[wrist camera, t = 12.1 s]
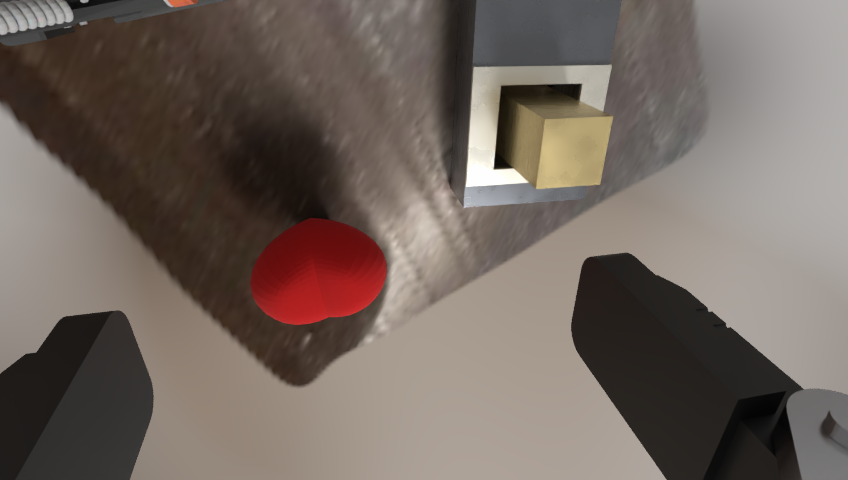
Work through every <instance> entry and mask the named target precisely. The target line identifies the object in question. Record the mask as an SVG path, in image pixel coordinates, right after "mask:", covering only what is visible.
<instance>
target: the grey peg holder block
mask: <svg viewBox="0 0 848 480" xmlns="http://www.w3.org/2000/svg"><path fill="white" fill-rule="evenodd" d="M621 1H622V0H459V13H458V35H457V56H456V77H455V99H454V120H453V142H452V163H451V185H450V188H451V189H452V191H453V192H454V194H455V195H456V197H457V198H458V200H459V201H460V203H461V204H462V206H463V207H476V206H490V205H504V204H518V203H532V202H546V201H560V200H574V199H584V197H585V192H586V187H587V186H573V187H559V188H545V189H535V188H534V187H533V186H532V185H531V184H530V183H529V182H528V181H527V180H526V179H525V178H523V177H522V176H521V175H520V174H519V173H518V172H517V171H516V170H515V169H514V168H513V167H512V166H511V165H509V164H508V163H507V162H506V161H505V160H504V159H503V158H502V157H501V156H500V155H499V154H498V153H497V152H496V151H495V146H496V135H497V124H498V113H499V102H500V91H501V85H538V84H554V87H553V89H554V90H557V91H559V92H561V93H563V94H565V95H567V96H570V97H572V98H574V99H576V100H578V101H581V102H583V103H585V104H587V105H589V106H592V107H594V108H596V109H598V110H600V111H603V109H604V104H605V99H606V93H607V88H608V83H609V78H610V72H611V67H612V65H610V59H611V54H612V49H613V44H614V38H615V33H616V28H617V22H618V17H619V12H620V6H621Z"/></svg>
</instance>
